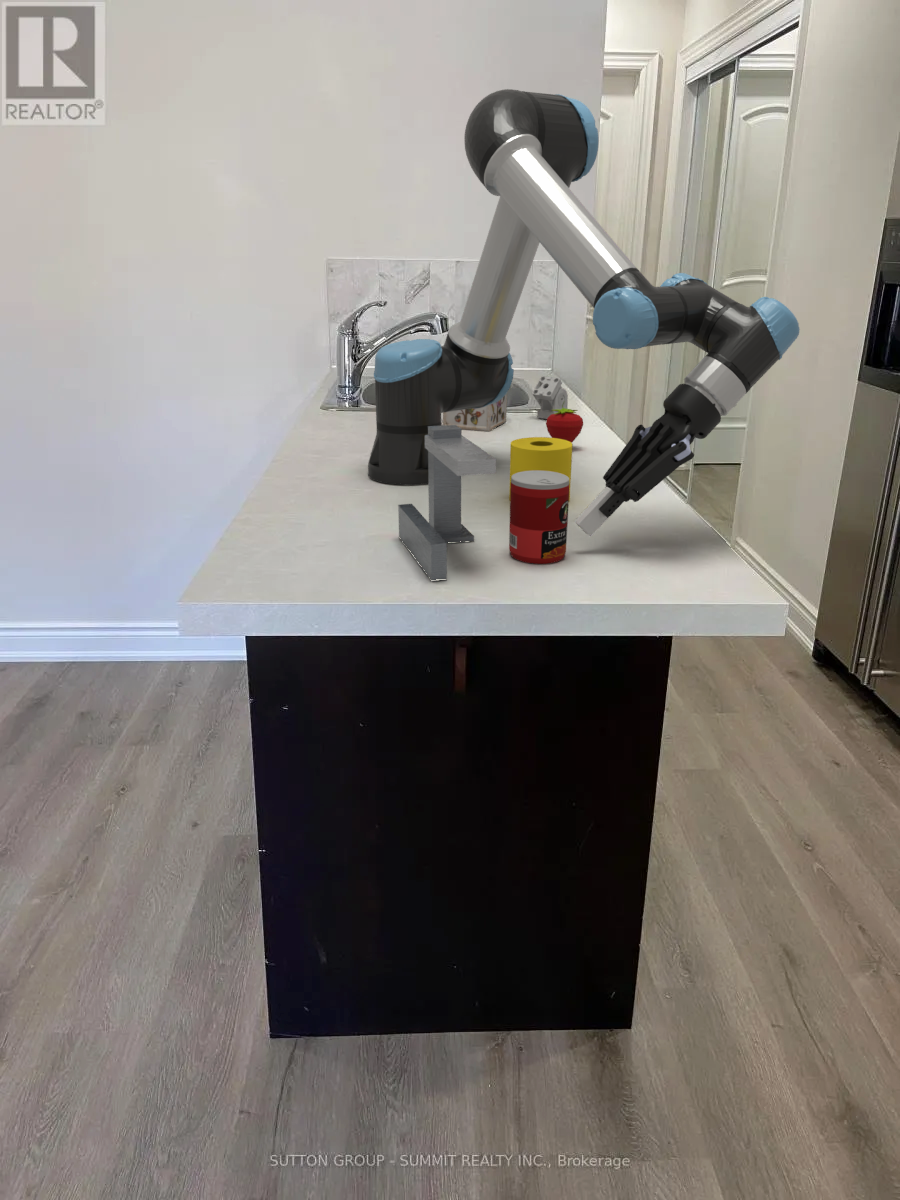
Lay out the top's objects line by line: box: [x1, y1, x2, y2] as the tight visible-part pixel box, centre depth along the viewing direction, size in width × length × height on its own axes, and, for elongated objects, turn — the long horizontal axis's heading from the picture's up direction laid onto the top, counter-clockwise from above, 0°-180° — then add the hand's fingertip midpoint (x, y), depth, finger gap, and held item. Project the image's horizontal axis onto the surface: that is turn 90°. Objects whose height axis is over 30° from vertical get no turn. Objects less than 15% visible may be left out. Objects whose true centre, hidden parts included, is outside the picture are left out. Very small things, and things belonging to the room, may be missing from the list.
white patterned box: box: [442, 392, 508, 432], centre depth 205 cm, size 12×12×18 cm
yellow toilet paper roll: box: [508, 436, 573, 503], centre depth 149 cm, size 10×10×9 cm
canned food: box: [508, 470, 571, 565], centre depth 122 cm, size 8×8×11 cm
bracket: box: [397, 424, 497, 581], centre depth 122 cm, size 10×20×16 cm, turn 16°
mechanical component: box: [531, 375, 569, 420], centre depth 213 cm, size 5×8×10 cm
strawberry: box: [545, 401, 584, 444], centre depth 183 cm, size 6×8×10 cm
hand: (582, 529), depth 124 cm, fingers closed
